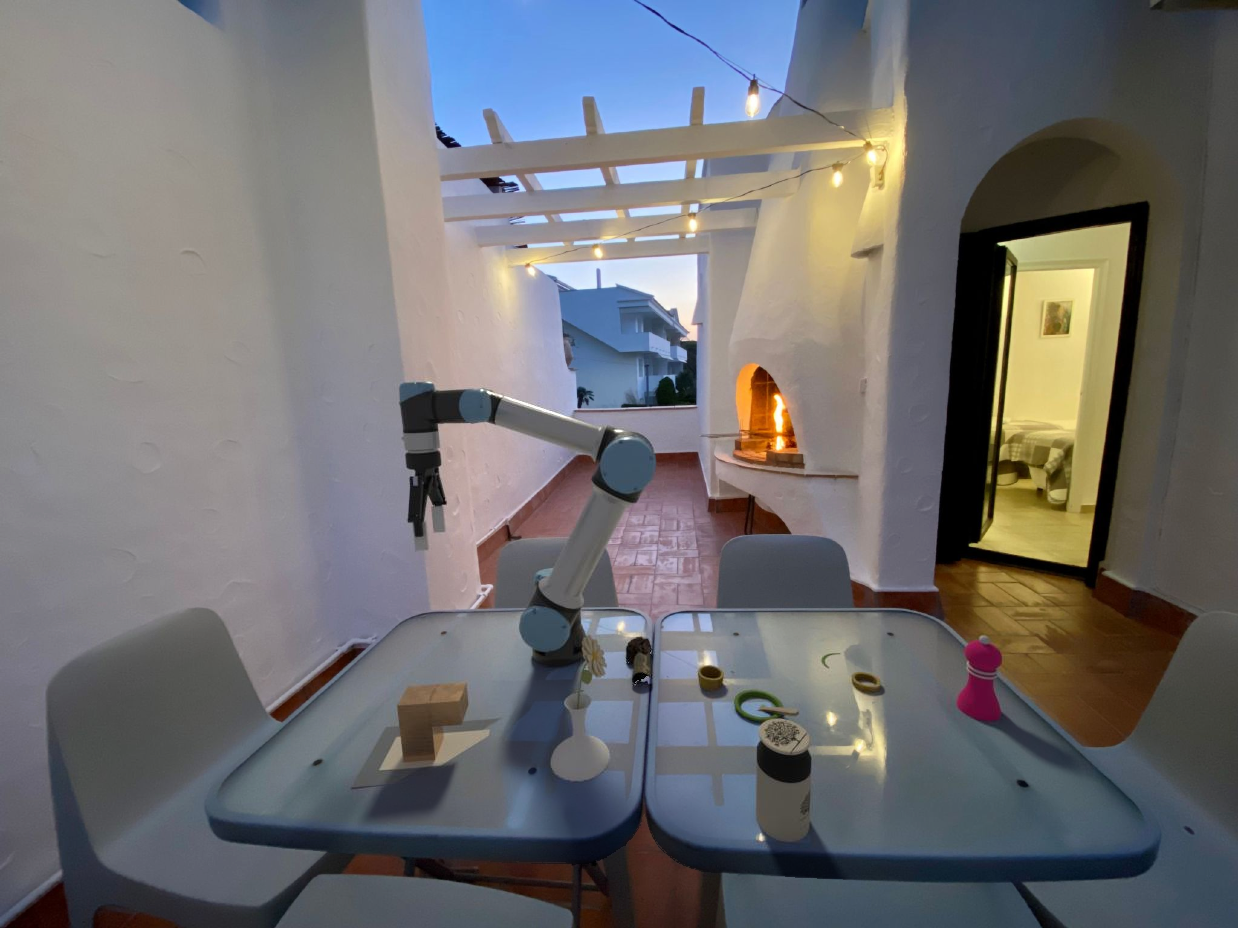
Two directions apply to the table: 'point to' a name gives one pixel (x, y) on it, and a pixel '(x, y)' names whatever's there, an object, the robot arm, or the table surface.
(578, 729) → the flower in vase
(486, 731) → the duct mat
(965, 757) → the table surface
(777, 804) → the travel mug
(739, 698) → the tableware set
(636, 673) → the brown olive knobbed cylinder
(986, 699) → the pepper mill
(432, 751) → the wooden l-shaped block
